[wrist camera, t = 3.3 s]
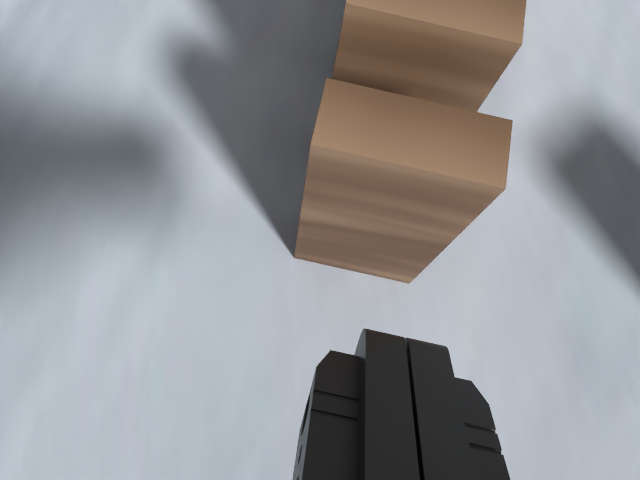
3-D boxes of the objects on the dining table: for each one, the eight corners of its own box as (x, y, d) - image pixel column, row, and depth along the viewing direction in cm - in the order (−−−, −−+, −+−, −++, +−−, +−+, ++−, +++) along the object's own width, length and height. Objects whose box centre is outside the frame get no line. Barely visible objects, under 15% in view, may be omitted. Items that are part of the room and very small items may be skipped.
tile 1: (409, 283, 23) (505, 188, 14) (293, 257, 23) (310, 144, 14) (416, 239, 24) (512, 120, 14) (304, 214, 24) (326, 77, 14)
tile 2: (424, 188, 25) (521, 43, 15) (316, 164, 25) (345, 3, 15) (431, 150, 25) (527, -12, 16) (325, 126, 25) (358, -52, 16)
